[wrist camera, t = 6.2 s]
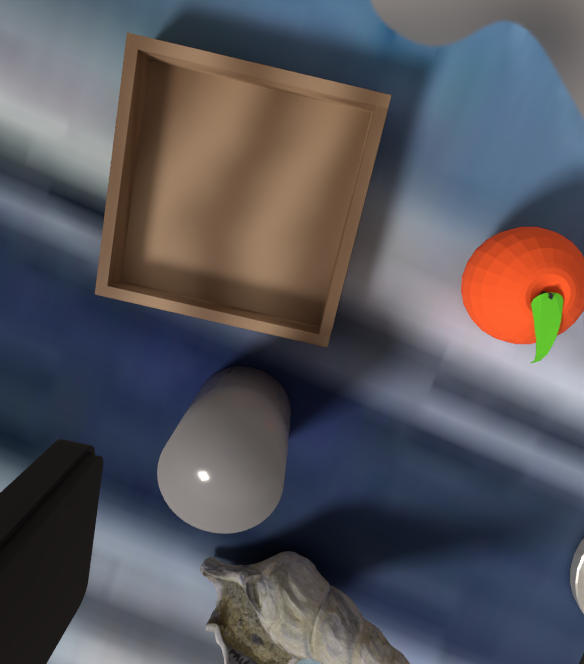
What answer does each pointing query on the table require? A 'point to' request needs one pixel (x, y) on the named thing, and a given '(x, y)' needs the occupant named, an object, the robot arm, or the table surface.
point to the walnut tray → (235, 189)
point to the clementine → (525, 286)
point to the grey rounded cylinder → (228, 452)
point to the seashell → (289, 616)
